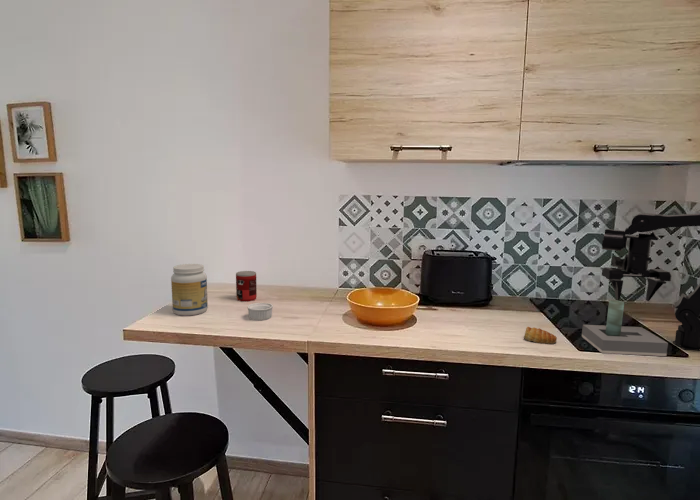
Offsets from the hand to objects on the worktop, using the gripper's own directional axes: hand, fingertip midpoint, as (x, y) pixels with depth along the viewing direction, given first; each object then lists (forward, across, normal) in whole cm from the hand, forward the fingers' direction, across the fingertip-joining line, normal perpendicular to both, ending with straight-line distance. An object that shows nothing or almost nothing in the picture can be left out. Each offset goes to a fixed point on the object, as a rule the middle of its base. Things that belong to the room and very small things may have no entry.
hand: (632, 300), depth 145 cm
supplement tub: (+12, +151, -5) cm, 152 cm away
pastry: (+12, +31, +8) cm, 35 cm away
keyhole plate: (+12, +7, +10) cm, 17 cm away
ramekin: (+12, +124, -2) cm, 125 cm away
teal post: (+11, +10, +10) cm, 18 cm away
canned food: (+12, +136, -24) cm, 139 cm away
